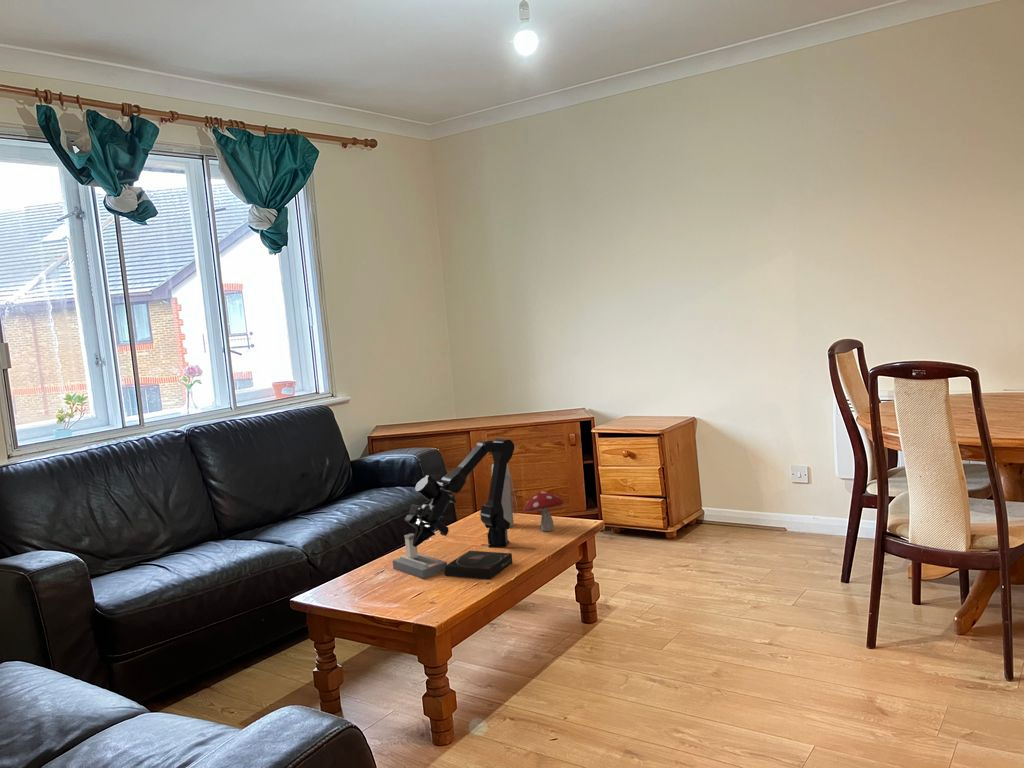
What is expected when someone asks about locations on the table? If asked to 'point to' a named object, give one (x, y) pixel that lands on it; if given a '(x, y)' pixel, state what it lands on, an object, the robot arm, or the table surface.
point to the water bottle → (507, 498)
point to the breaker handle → (410, 546)
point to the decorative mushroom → (544, 508)
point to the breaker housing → (419, 566)
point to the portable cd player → (478, 565)
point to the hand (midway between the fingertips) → (414, 546)
